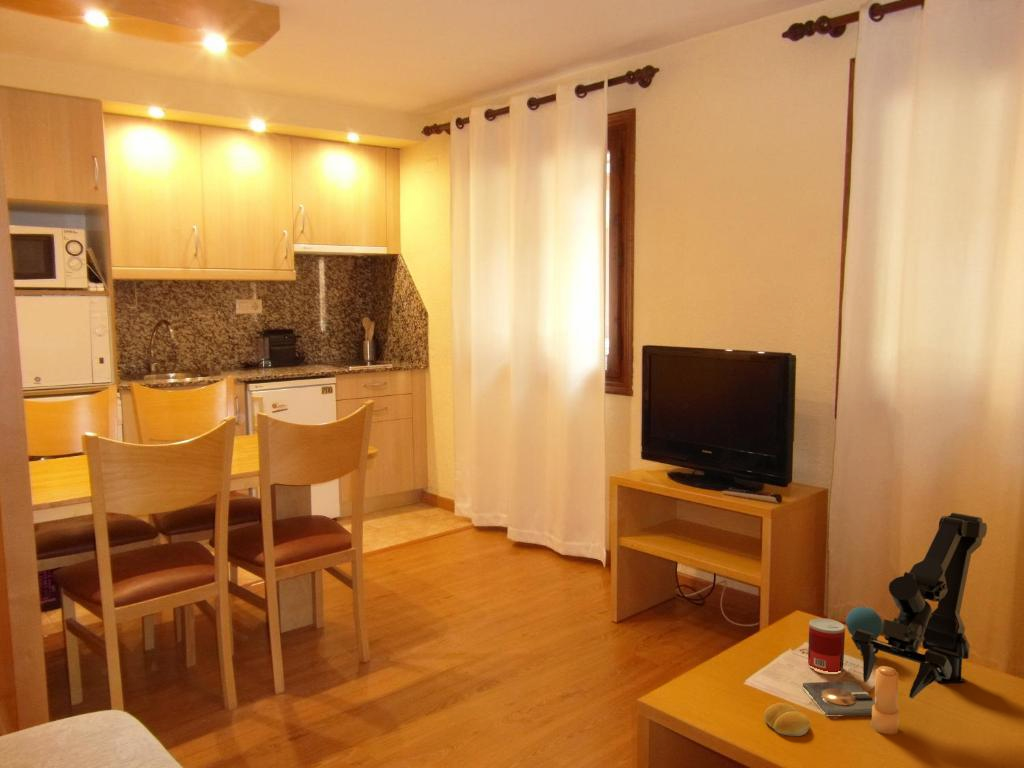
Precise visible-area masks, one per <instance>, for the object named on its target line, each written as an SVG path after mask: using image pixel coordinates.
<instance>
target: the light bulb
mask: <svg viewBox="0 0 1024 768" xmlns="http://www.w3.org/2000/svg"><path fill="white" fill-rule="evenodd" d="M845 625H846V628H847V631H848V632H849V634H850V635H851V636H852V635H853V633H854V631H856V630H857V629H861V630H864V631H868V632H871V633H874V634H875V636H876V638H877V639H878V638H879V637H880V636H881V635H882V634H881V629H882V625H883V620H882V617H881V616H880V614H878V612H877V611H875V610H874V609H872V608H870V607H867V606H858V607H857V606H856V607H855V608H852V609H851V610H850V611H849V613H848V614H847V616H846V620H845ZM858 651H859V653H860V654H862V653H861V651H860V650H858Z"/></svg>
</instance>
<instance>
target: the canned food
mask: <svg viewBox="0 0 1024 768" xmlns="http://www.w3.org/2000/svg"><path fill="white" fill-rule="evenodd" d="M845 630H846V627H845V624H843V623H841V622H839V621H837V620H834V619H830V618H821V617H820V618H819V617H818V618H814V619H810V621H809V623H808V645H807V646H808V648H807V650H808V651H807V663H808V666H809V665H810V666H812V667H814V668H817V669H820V670H823V671H828V672H838V671H841V670H842V669H844V656H845V636H846V635H845V634H846V632H845ZM842 671H843V670H842Z"/></svg>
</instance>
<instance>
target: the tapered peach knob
mask: <svg viewBox="0 0 1024 768" xmlns="http://www.w3.org/2000/svg"><path fill="white" fill-rule="evenodd" d="M874 679H875V681H874V683H875V684H874V701H875V702H874V705H873V706H872V715H871V724H870V725H871V729H873V730H874V731H875V732H878V733H880V734H884V735H895V734H898V732H899V722H900V721H899V720H900V714H899V713H900V711H899V710H898V693H899V690H898V689H899V688H898V687H899V673H898V672H897V671H896V669H894V668H893V667H890V666H885V665H881V666H879V667H878V668H876V669H875V677H874Z"/></svg>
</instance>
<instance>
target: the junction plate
mask: <svg viewBox="0 0 1024 768" xmlns="http://www.w3.org/2000/svg"><path fill="white" fill-rule="evenodd" d="M803 687H804V688H805V689H806V690H807V691H808V692H809V694H810V695H811V696H812V697H813V699H814V700H815V701H816V702H817V704H818V705H819V706H820V708H821V709H822V710H823V711H824V712H825V714H826V715H844V716H843V717H854V716H855V717H857V715H863V716H872V706H873V705H874V702H875V699H874V698H873V696H871V695H869V692H867V691H864V690H863V688H861V686H859V685H858V684H857V683H856V681H853V680H852V681H824V682H823V681H822V682H821V681H820V682H817V681H815V682H803V683H802V688H803ZM820 708H819V709H820ZM825 714H824V715H825ZM826 715H825V716H826Z"/></svg>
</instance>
